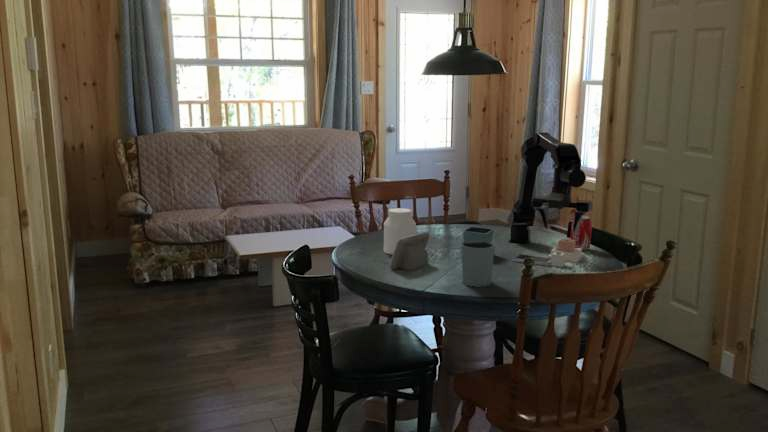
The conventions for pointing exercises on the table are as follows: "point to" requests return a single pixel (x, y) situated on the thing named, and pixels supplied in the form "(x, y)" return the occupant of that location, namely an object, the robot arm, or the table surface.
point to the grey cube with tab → (558, 259)
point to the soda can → (582, 233)
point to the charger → (566, 245)
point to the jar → (397, 227)
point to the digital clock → (410, 252)
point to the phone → (538, 260)
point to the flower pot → (478, 234)
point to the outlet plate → (570, 254)
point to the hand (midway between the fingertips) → (560, 229)
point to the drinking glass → (477, 262)
